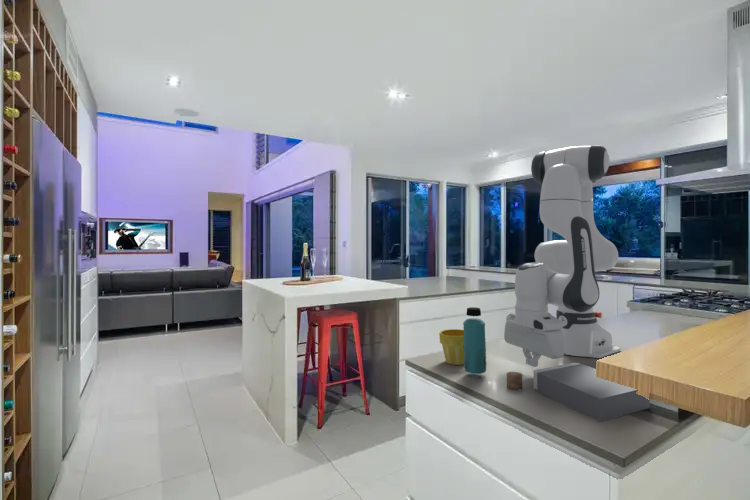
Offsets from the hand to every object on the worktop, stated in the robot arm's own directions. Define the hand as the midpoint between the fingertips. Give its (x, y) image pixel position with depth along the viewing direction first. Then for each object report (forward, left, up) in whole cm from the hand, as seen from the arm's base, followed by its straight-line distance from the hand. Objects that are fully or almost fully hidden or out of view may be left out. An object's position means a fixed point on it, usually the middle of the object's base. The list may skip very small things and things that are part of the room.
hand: (532, 365), depth 113 cm
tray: (0, +18, -3) cm, 18 cm away
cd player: (0, +19, -3) cm, 19 cm away
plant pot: (+13, -20, -3) cm, 24 cm away
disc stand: (+11, +5, -3) cm, 13 cm away
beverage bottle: (+15, -7, -3) cm, 17 cm away
